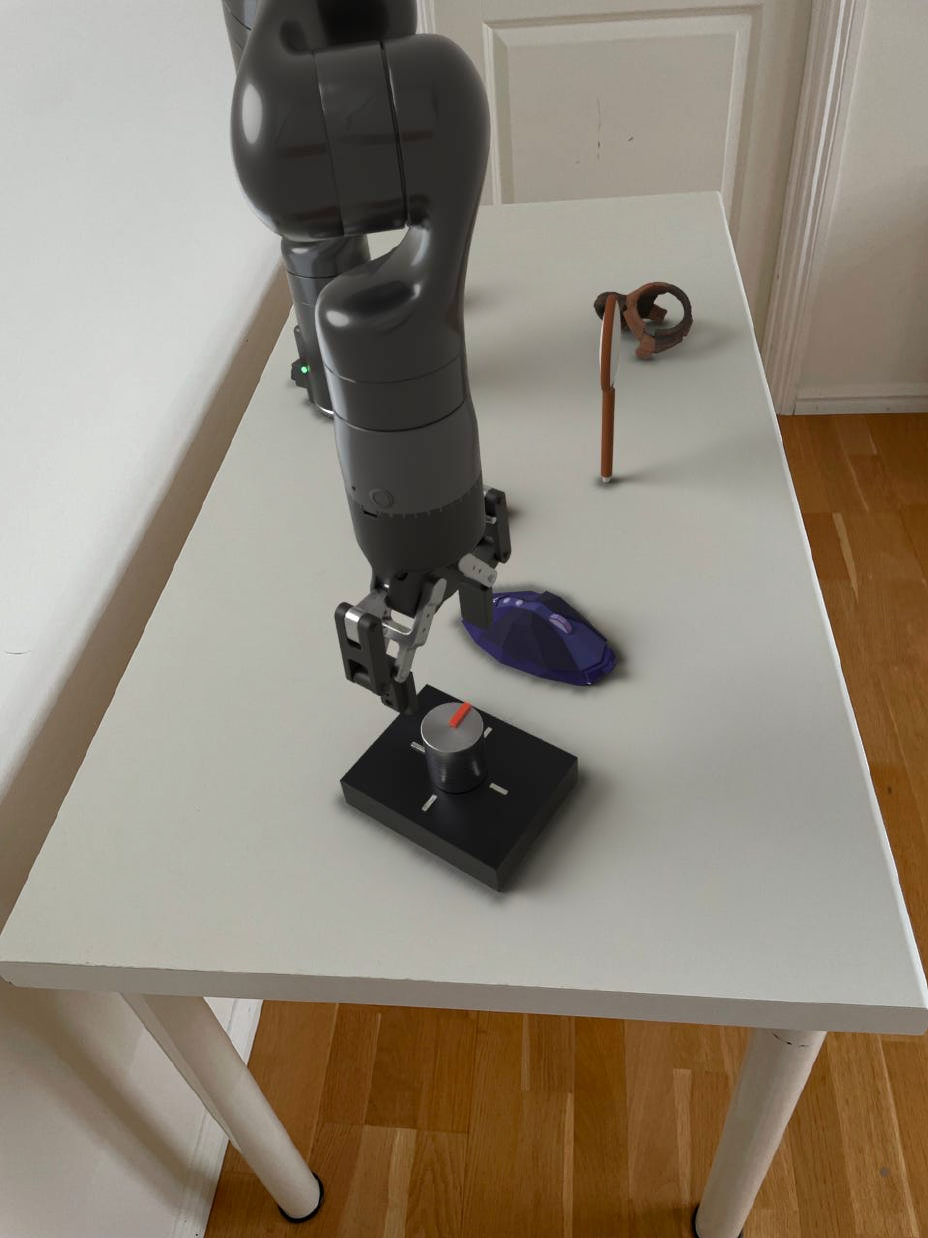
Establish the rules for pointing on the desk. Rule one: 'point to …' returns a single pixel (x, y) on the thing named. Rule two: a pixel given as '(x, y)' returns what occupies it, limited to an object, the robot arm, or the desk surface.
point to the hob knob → (455, 747)
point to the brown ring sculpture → (649, 316)
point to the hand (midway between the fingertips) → (441, 663)
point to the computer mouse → (544, 638)
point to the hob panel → (463, 793)
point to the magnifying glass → (609, 380)
